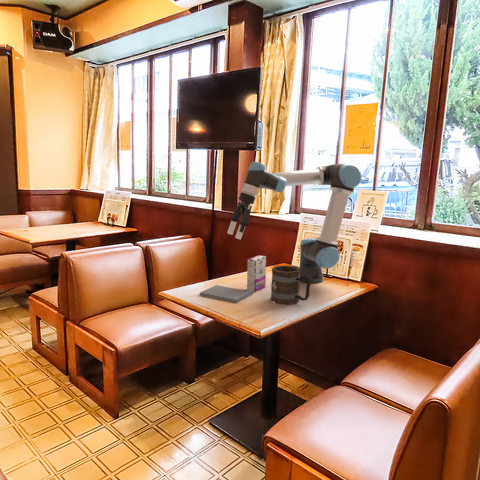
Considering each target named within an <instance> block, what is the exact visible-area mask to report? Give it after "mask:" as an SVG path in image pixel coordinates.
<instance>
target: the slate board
mask: <svg viewBox="0 0 480 480" xmlns="http://www.w3.org/2000/svg"><path fill="white" fill-rule="evenodd" d="M252 294H253V292H252V291H247V289H246V290H245V289H239V288H235V287H229V286H224V285H218V284H215V285H214V286H212V287H209V288H207V289H205V290H203V291H200V292H199V296H201V297H206V298H210V299H215V300H219V301H226V302H231V303H234V304H238V303H239V302H241V301H242V300H244V299H246V298H247V297H250V296H252Z"/></svg>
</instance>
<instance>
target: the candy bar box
mask: <svg viewBox="0 0 480 480" xmlns="http://www.w3.org/2000/svg"><path fill="white" fill-rule="evenodd" d="M246 264H247V266H246V267H247V270H246V271H247V272H246V273H247V275H246V276H247V277H246V281H247V283H246V291H252V293H257V292H259V291H261V290H263V289H264V288H266V282H267V281H266V278H267V277H266V275H267V274H266V273H267V272H266V271H267V256H265V255H256V256H254V257H253V256H252V257H251V258H248V259H247V263H246Z"/></svg>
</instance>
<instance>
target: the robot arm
mask: <svg viewBox="0 0 480 480" xmlns="http://www.w3.org/2000/svg"><path fill="white" fill-rule="evenodd" d="M361 181H362V172H361V171H360V168H359V167H358V166H357V165H355V164H353V163H333V164H329V165H324V166H318V167H316V168H314V169H302V170H301V169H300V170H292V171H291V170H290V171H281V172H280V171H279V172H270V171H268V170H267V166H266V164H264V163H261V162H258V161H252V162H251V163H250V166H249V168H248V170H247V173H246V176H245V180H244V183H243V184H242V187H241V192H239V193H240V194H239V196H238V200H239V201H238V202H237V205H236V207H235V208H234V209H235V210H234V211H233V212H232V215H231V217H230V219H231V221H230V224H229V227H228V229H227V232H226V233H227V234H228V235H231V236H233V234H234V232H235V229H236V225H237V223H238V220H239V218H240V217H241V218H240V222H239V226H238V228H237V231H236V234H235V237H234V238H235V239H237V240H241V239H242V237H243V234H244V233H245V232H244V231H245V229H246V227H247V226H249V223H250V216H251V211H252V207H253V205H254V203H255V200H256V197H257V195H258V193H259V190H260V189H265V190H271V191H274V192H276V193H282V192H283V191H284V190H285V189H286V187H293V186H304V185H316V184H317V185H318V186H330V190H331V195H330V199H329V202H328V205H327V211H326V214H325V218H324V220H323V224H322V228H321V231H320V236H319V237H317V238H302V239H301V241H300V249H299V250H300V254H299V266H298V268H299V269H301V271H300V277H301V276H304V275H307V276H308V277H309V278H310V282H311V283H310V284H317V283H322V282H324V273H323V270H322V269H326V270H327V269H332V268H333V267H335V266H337V264H338V262H339V260H340V253H339V249H338V248H339V243H338V241H337V240H338V236H339V233H340V230H341V226H342V222H343V219H344V216H345V211H346V208H347V204H348V201H349V196H351V195H352V194H353V193H354V190H355V188H356V187H357V186H359V184H360V183H361ZM250 204H251V205H250ZM300 283H306V284H307V279H306V278H303V279H302V280H300Z"/></svg>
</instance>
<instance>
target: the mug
mask: <svg viewBox="0 0 480 480" xmlns="http://www.w3.org/2000/svg"><path fill="white" fill-rule="evenodd" d="M300 271H301V269H299V267H296V266H292V265H277V266H273V267H272V268H271V275H272V276H271V283H270V284H271V291H270V292H271V293H270V294H271V296H270V301H271V302H273V303H274V302H275V304H277V305H285V306H290V305H297V304H298V303H299V302H300V301H302V302H304V301H307V300H308V298H309V297H310V289H311V284H312V283H311V282H310V278H309V277H308V276H307V275H304V276H301V277H300ZM303 278H306V279H307V283H306V287H305V288H306V289H305V296H304V297H303V296H301V295H300V286H301V281H300V280H302V279H303Z"/></svg>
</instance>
